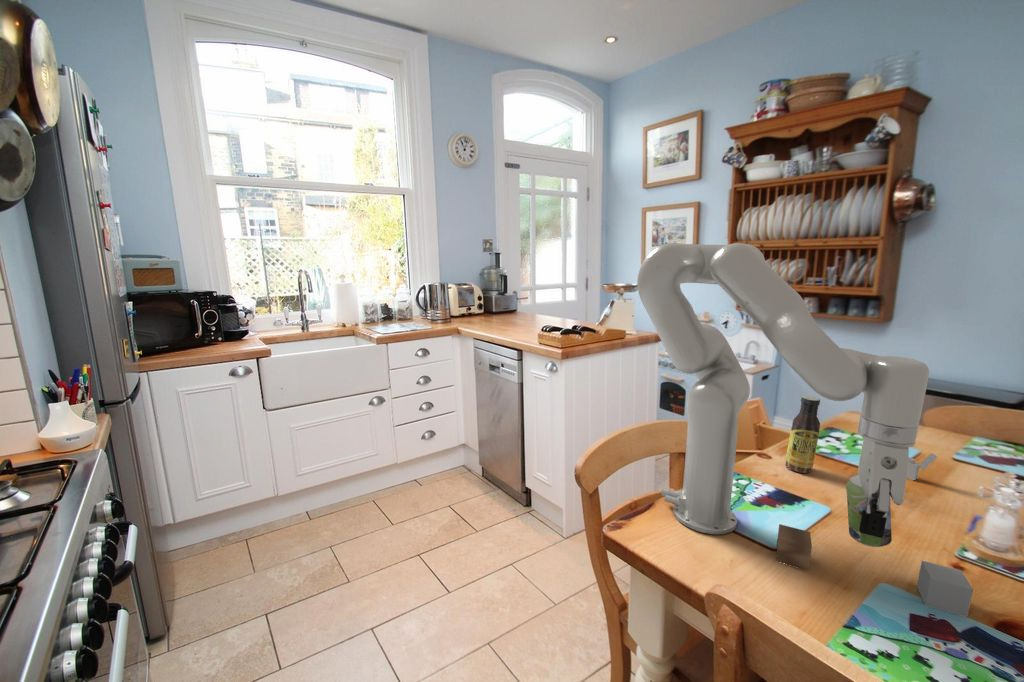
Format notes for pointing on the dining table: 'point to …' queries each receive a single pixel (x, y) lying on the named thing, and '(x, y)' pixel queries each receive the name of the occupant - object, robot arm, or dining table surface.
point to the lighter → (918, 466)
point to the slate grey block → (944, 588)
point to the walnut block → (794, 547)
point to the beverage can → (855, 508)
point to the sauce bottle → (804, 436)
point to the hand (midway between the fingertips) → (868, 527)
